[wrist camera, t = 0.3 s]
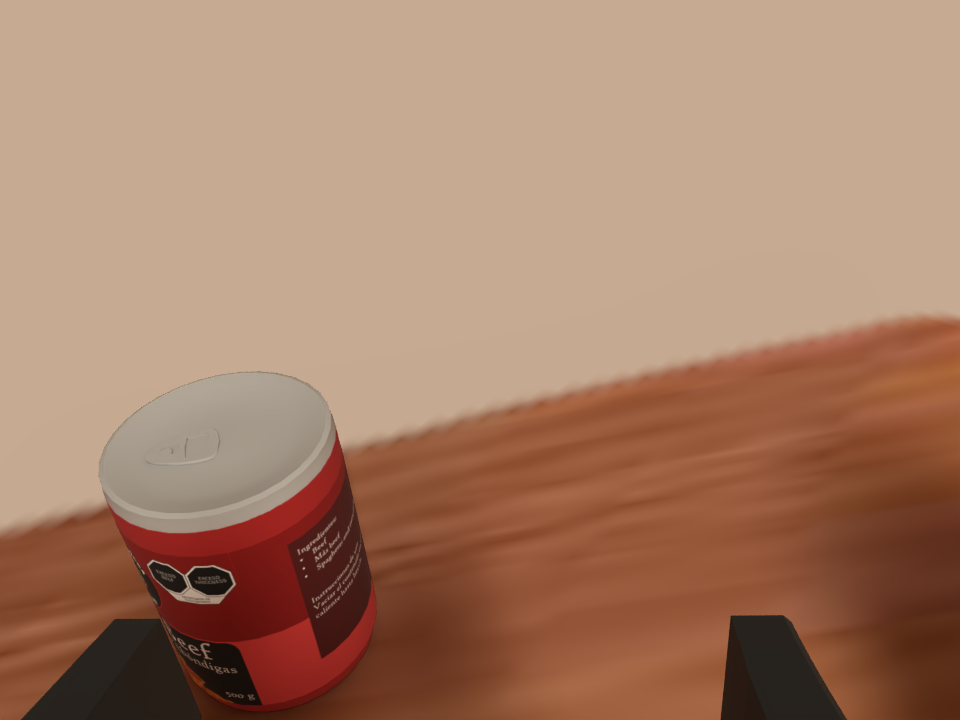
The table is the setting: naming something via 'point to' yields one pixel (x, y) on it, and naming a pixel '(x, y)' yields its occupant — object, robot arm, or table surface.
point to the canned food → (245, 535)
